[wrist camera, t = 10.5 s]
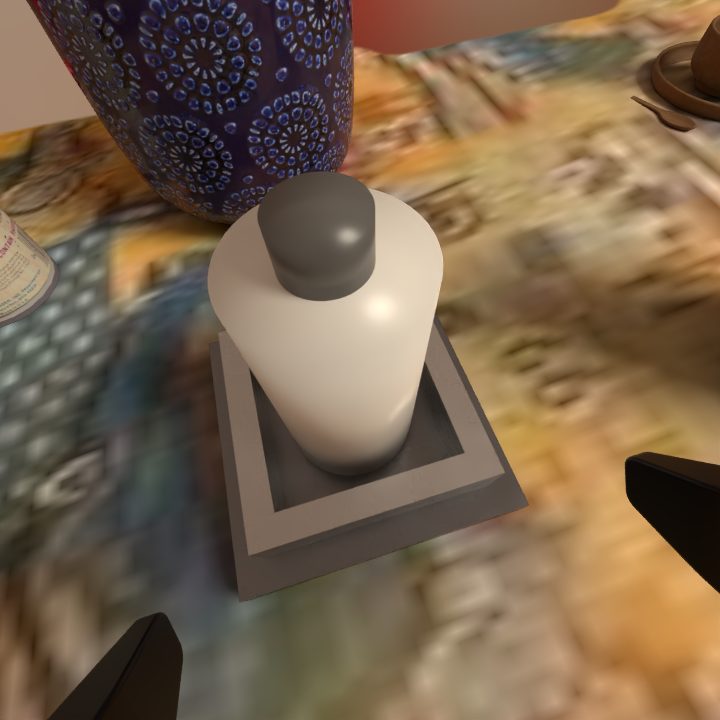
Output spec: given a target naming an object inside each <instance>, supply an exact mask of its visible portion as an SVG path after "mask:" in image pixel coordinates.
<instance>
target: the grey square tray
mask: <svg viewBox="0 0 720 720" xmlns="http://www.w3.org/2000/svg"><path fill="white" fill-rule="evenodd" d="M218 336H219V341H218V342H214V343H210V344H209V350H210V359H211V367H212V375H213V384H214V392H215V401H216V409H217V417H218V426H219V434H220V442H221V451H222V459H223V467H224V476H225V484H226V492H227V501H228V509H229V518H230V526H231V534H232V543H233V551H234V559H235V568H236V576H237V584H238V593H239V601H240V602H243V601H248V600H252V599H255V598H258V597H261V596H264V595H267V594H270V593H273V592H276V591H278V590H281V589H284V588H287V587H290V586H293V585H296V584H299V583H302V582H305V581H308V580H311V579H314V578H317V577H320V576H323V575H326V574H329V573H332V572H335V571H338V570H341V569H344V568H347V567H350V566H353V565H356V564H359V563H362V562H365V561H368V560H371V559H374V558H377V557H380V556H383V555H386V554H389V553H391V552H394V551H397V550H400V549H403V548H406V547H409V546H412V545H415V544H418V543H421V542H424V541H427V540H430V539H433V538H436V537H439V536H442V535H445V534H448V533H451V532H454V531H457V530H460V529H463V528H466V527H469V526H472V525H475V524H478V523H481V522H484V521H487V520H490V519H493V518H496V517H499V516H501V515H504V514H507V513H510V512H513V511H516V510H519V509H521V508H524V507H526V506H528V505H529V504H528V502H527V500H526V498H525V496H524V493H523V491H522V489H521V487H520V485H519V483H518V481H517V479H516V477H515V475H514V473H513V471H512V469H511V467H510V465H509V463H508V461H507V459H506V456H505V454H504V452H503V450H502V448H501V446H500V444H499V442H498V440H497V438H496V436H495V434H494V432H493V430H492V428H491V426H490V424H489V422H488V419H487V417H486V415H485V413H484V411H483V409H482V407H481V405H480V403H479V401H478V399H477V397H476V395H475V393H474V391H473V389H472V387H471V385H470V382H469V380H468V378H467V376H466V374H465V372H464V370H463V368H462V366H461V364H460V362H459V360H458V358H457V356H456V354H455V352H454V350H453V348H452V345H451V343H450V341H449V339H448V337H447V335H446V333H445V331H444V329H443V327H442V325H441V323H440V321H439V319H438V317H437V315H436V313H435V314H434V319H433V323H432V328H431V333H430V337H429V342H428V346H427V351H426V355H425V360H424V365H423V369H422V374H421V378H420V383H419V387H418V392H417V397H416V401H415V406H414V410H413V415H412V419H411V424H410V428H409V432H408V436H407V438H406V441H405V443H404V444H403V446H402V448H401V449H400V451H399V452H398V453H397V454H396V456H395V457H394V458H392V459H391V460H390V461H389V462H388V463H386V464H385V465H384V466H382V467H380V468H378V469H377V470H374V471H371V472H369V473H365V474H361V475H340V474H334V473H331V472H328V471H326V470H324V469H321V468H320V467H318V466H317V465H315V464H314V463H312V462H311V461H310V460H309V459H308V458H307V457H306V456H305V455H304V454H303V452H302V451H301V449H300V448H299V446H298V444H297V443H296V441H295V440H294V438H293V436H292V435H291V433H290V432H289V430H288V428H287V427H286V425H285V424H284V422H283V420H282V419H281V417H280V416H279V414H278V412H277V411H276V409H275V408H274V406H273V404H272V403H271V401H270V400H269V398H268V396H267V395H266V393H265V392H264V390H263V388H262V387H261V385H260V384H259V382H258V380H257V379H256V377H255V376H254V374H253V372H252V371H251V369H250V368H249V366H248V364H247V363H246V361H245V360H244V358H243V356H242V355H241V353H240V352H239V350H238V348H237V347H236V345H235V343H234V342H233V340H232V339H231V337H230V335H229V334H228V332H227V331H226V330H225V331H221V332H218Z"/></svg>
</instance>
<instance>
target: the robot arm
mask: <svg viewBox="0 0 720 720" xmlns="http://www.w3.org/2000/svg"><path fill="white" fill-rule="evenodd" d="M625 481H626V494H627V497H628V499H629V501H630V503H631V504H632V505H633V506H634V508H635V509H636V510H637V511H638V512H639V513H640V514H641V515H642V516H643V517H644V518H645V519H646V520H647V521H648V522H649V523H650V524H651V525H652V526H653V527H654V529H655V530H656V531H657V532H658V533H659V534H660V535H661V536H662V537H663V538H664V539H665V540H666V541H667V542H668V543H669V544H670V545H671V546H672V547H673V548H674V549H675V550H676V552H677V553H678V554H679V555H680V556H681V557H682V558H683V559H684V560H685V561H686V562H687V563H688V564H689V565H690V566H691V567H692V568H693V569H694V570H695V571H696V572H697V573H698V574H699V575H700V576H701V577H702V578H703V579H704V580H705V581H706V582H708V583H709V584H710V585H711V586H712V587H713V588H714V589H715V590H716V591H717V592H718V593H720V465H716V464H710V463H705V462H700V461H695V460H689V459H684V458H679V457H674V456H668V455H663V454H658V453H653V452H643V453H640V454H637V455H634V456H631V457H629V458H627V459H626V462H625ZM182 664H183V651H182V647H181V644H180V642H179V640H178V637H177V635H176V633H175V631H174V629H173V627H172V625H171V623H170V621H169V619H168V617H167V616H166V615H165V614H164V613H162V612H159V613H155V614H152V615H149V616H146V617H143V618H141V619H139V620H137V621H136V622H135V623H134V624H133V625H132V626H131V627H130V628H129V629H128V630H127V631H126V633H125V634H124V635H123V636H122V637H121V638H120V639H119V640H118V641H117V643H116V644H115V645H114V646H113V647H112V648H111V649H110V650H109V651H108V653H107V654H106V655H105V656H104V657H103V658H102V659H101V660H100V661H99V663H98V664H97V665H96V666H95V667H94V668H93V669H92V670H91V671H90V673H89V674H88V675H87V676H86V677H85V678H84V679H83V680H82V681H81V683H80V684H79V685H78V686H77V687H76V688H75V689H74V690H73V691H72V693H71V694H70V695H69V696H68V697H67V698H66V699H65V700H64V701H63V703H62V704H61V705H60V706H59V707H58V708H57V709H56V710H55V711H54V713H53V714H52V715H51V716H50V717H49V718H48V719H47V720H176V717H177V708H178V699H179V691H180V682H181V673H182Z"/></svg>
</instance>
